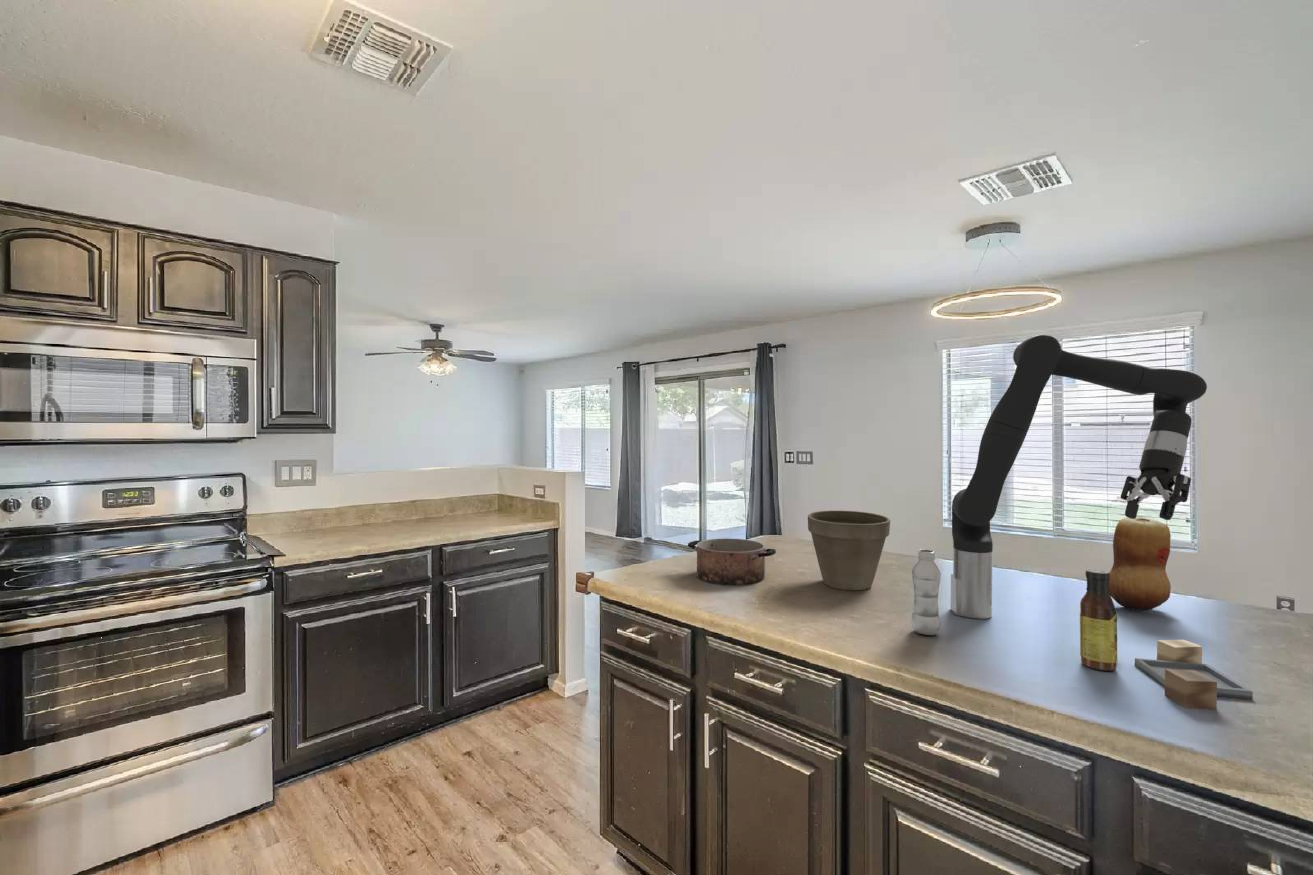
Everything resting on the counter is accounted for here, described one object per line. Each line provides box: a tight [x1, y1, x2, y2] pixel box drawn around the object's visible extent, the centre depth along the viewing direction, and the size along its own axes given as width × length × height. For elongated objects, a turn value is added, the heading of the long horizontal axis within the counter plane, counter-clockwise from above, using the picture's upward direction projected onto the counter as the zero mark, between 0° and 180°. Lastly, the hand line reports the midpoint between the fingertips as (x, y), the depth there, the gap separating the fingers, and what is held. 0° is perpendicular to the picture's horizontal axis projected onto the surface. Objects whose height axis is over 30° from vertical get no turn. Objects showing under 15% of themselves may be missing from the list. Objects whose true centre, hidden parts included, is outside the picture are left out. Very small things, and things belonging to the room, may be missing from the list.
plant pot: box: [807, 510, 891, 591], centre depth 185 cm, size 25×25×22 cm
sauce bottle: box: [1079, 568, 1118, 672], centre depth 122 cm, size 6×6×20 cm
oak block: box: [1156, 639, 1203, 664], centre depth 124 cm, size 6×4×4 cm, turn 94°
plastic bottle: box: [910, 549, 942, 636], centre depth 142 cm, size 6×7×20 cm
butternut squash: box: [1109, 516, 1172, 612], centre depth 160 cm, size 14×13×25 cm
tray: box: [1134, 657, 1254, 700], centre depth 115 cm, size 13×13×2 cm
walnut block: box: [1164, 669, 1218, 710], centre depth 107 cm, size 5×5×5 cm
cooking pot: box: [687, 537, 777, 586], centre depth 195 cm, size 30×22×11 cm
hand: (1146, 518), depth 136 cm, fingers open, 8 cm apart
